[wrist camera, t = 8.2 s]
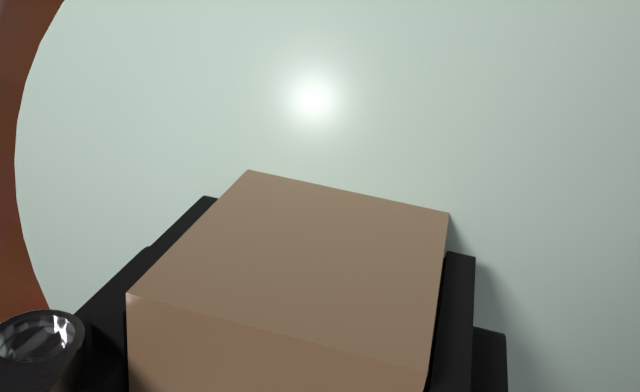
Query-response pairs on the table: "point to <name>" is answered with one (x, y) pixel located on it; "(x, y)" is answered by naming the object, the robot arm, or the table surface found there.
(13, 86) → the table surface
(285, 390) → the lid
